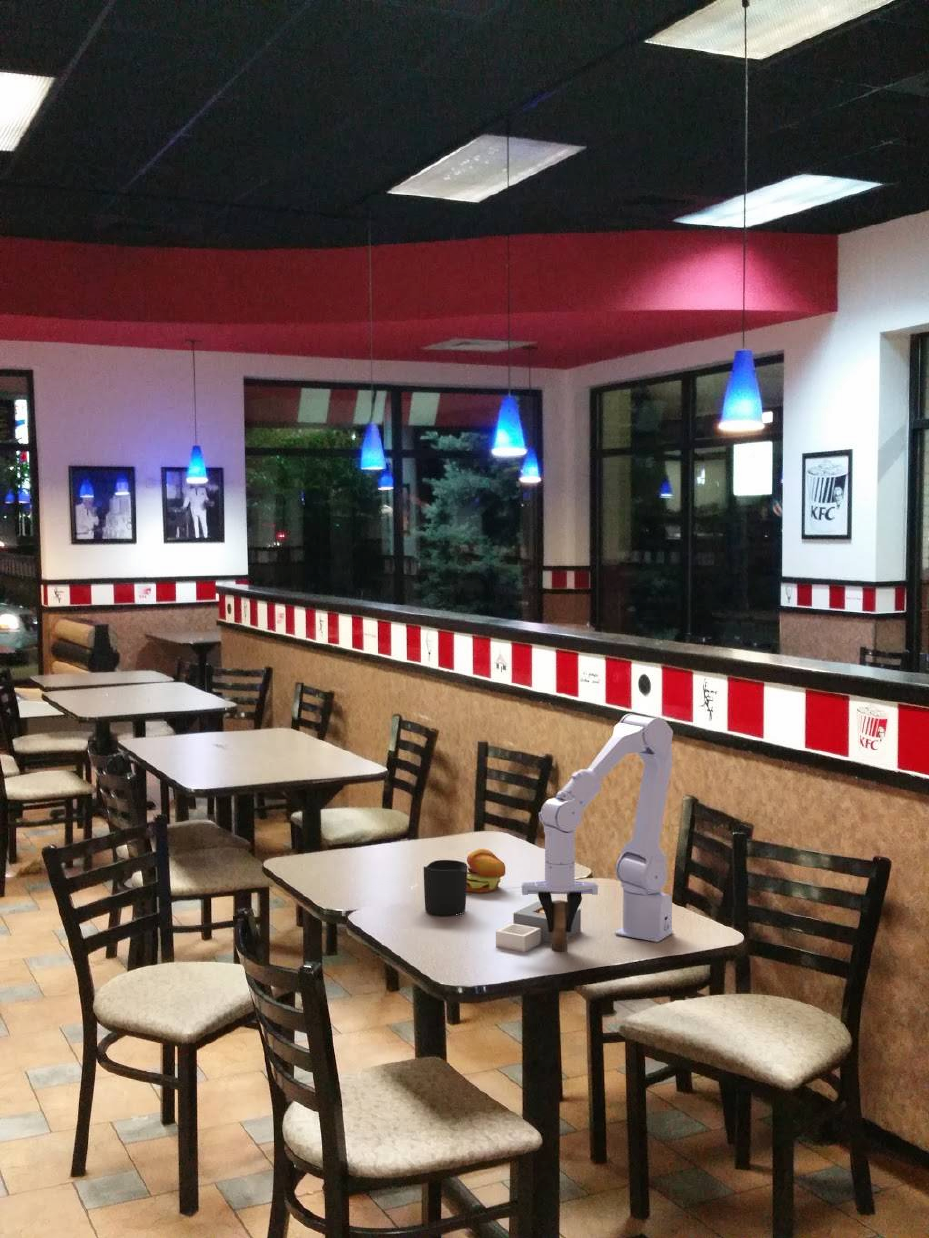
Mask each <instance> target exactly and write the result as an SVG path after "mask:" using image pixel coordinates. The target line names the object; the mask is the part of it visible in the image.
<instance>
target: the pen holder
mask: <svg viewBox="0 0 929 1238" xmlns="http://www.w3.org/2000/svg"><path fill="white" fill-rule="evenodd" d="M467 866H468V863H467V862H464V861H460V860H453V859H438V860H434V861H432V862H430V863H429V864H428V865H426V866H423V888H424V889H423V892H424V895H423V896H424V909H425V911H426V913H427V912H428V913H427V914H429V915H431V914H432V916H435V915H437V917H452V916H453V915H455V916H457V915H456V914H459V915H461V914H460V913H462V912H463V913H464V912H465V911H466V903H467V902H466V901H467V890H466V888H467ZM463 913H462V914H463ZM453 917H454V916H453Z"/></svg>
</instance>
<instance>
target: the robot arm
mask: <svg viewBox="0 0 929 1238" xmlns="http://www.w3.org/2000/svg"><path fill="white" fill-rule="evenodd" d="M612 733H613V734H612V736H611V737H610V738H609V740H608V741H607V742H606V743H605V745H604V746H603V747H602V748H601V751H600V752H599V753H598V754H597V756H596V757H595V758H594V759H593V761H592V763H591V764H590V765H589V766H588V768H587V769H579V770H577V771H573V773H572V774H571V775H570V777H571V778H570V780H569V781H568V782H566V784H565V785H564V786H563V788H562V789H561V790H559V791H558V792H557V793H556V796H555V797H552V798H548V800H546V801H545V802H544V803H543V804H542V806H541V810H540V812H538V818H539V822H541V824H542V825H543V834H544V880H542V881H540V880H539V881H531V882H522V883H521V894H522V896H528V895H537V896H538V900H539V902H541V905H542V907H543V910H544V912H545V915H546V919H547V925H548V932H552V901H553V899H552V895H566V902H567V932H571V928H572V923H573V920H574V917H575V914H576V911H577V909H579V907H580V905H581V904H582V902H583V901H582V900H583V896H582V895H593V896H597V895H598V891H599V890H598V889H599V885H598V883H597V882H593V881H592V882H591V881H590V882H589V881H578V880H577V881H576V880H575V877H576V875H575V867H576V865H575V863H576V862H575V860H576V859H575V857H576V855H575V853H576V852H575V851H576V849H575V848H576V846H575V845H576V842H575V841H576V837H575V836H576V835H575V834H576V832H575V831H576V829H577V828H578V827H579V826H580V825H581V822H582V820H583V819H582V818H583V815H584V812H585V809H586V808H587V807H588V806H589V804H590V803H591V802H592V800H594V799H595V797H596V796H597V795H598V794H599V793H600V792H601V790H602V780H603V779H604V778H605V777H607V775H608V774H609V773H610V772H611V771H612V770H613V769H614V768H615V767H616V765H618V764H619V763H620V762H621V761H622V760H623V759H624V758H625V757H626V756H627V755H628V754H633V753H634V754H635V753H636V754H637V755H638V756H639V758H640V759H641V760H642V762H643V770H642V775H641V780H640V781H641V782H640V788H639V794H638V801H637V807H636V812H635V818H634V819H635V820H634V824H633V830H632V835H631V836H632V837H631V839H630V840H629V841H628V842H627V843H625V844H624V845H623V846H622V850H621V854H620V856H619V858H618V860H617V861H616V865H615V875H616V877H617V879H618V881H620V882H621V883H620V886H621V888H622V927H621V928H619V929H618V930H616V931H615V932H614V935H616V936H622V937H627V938H633V939H638V940H639V939H640V940H645V941H650V942H656V943H658V942H660V941H662V940H664V939H665V938H667V937H668V936H670V935H671V934H673V933H674V930H673V929H672V928H673V900H672V897H671V895H670V894H667V893H664V892H663V891H662V889H663V888H664V887H665V885H666V883H667V881H668V870H667V860H668V859H667V858H668V857H667V855H666V853H665V852H664V850H663V849H662V847H661V845H660V841H661V833H662V828H663V820H664V814H665V810H666V803H667V797H668V792H669V791H668V790H669V783H670V779H671V778H670V777H671V772H672V767H673V760H674V759H673V758H674V757H673V756H674V755H673V749H672V741H673V735H674V731H673V729H672V728H671V727H670V725H669V724H668V723H667V721H666V720H665V719H663V718H660V717H651V716H650V717H649V716H644V715H637V714H636V713H627V714H625V715H624V716H622V718H621V719H620V721H619V722H618V723H617V724H616V725H615V726H614V727H613V731H612Z"/></svg>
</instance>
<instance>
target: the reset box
mask: <svg viewBox="0 0 929 1238" xmlns="http://www.w3.org/2000/svg"><path fill="white" fill-rule="evenodd" d="M541 910H543V907H542V905H541V902H540V901H536V902H534V903H532V904H530V905H528V906H526V907H523V908H522V909H518V910H517V911H514V912H513V914H512V915H513V916H512V917H513V922H512V923H514V924H519V925H525V926H530V927H536V928H541V941H543V942H547V943H548V942H549V943H552V932H548V925H547V919H546V915H545V914H541V913H538V912H540V911H541ZM581 915H582V908H578V909H577V911H576V914H575V917H574V920H573V923H572V928H571V932H567V939H569V938H570V937H573V936H574V935H576V934H577V933H579V932H581V929H582V927H581V926H582V924H581V923H582V922H581V919H582V916H581Z"/></svg>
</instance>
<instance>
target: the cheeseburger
mask: <svg viewBox="0 0 929 1238" xmlns="http://www.w3.org/2000/svg"><path fill="white" fill-rule="evenodd" d="M466 857H467V858H466V864H467V888H466V892H470V893H477V894H478V893H481V894H482V893H489V892H493V891H496V889H498V888H499V883H500V882H501V881H502V879H501V878H502V877H504V876H506V865H505V862H503V860H501V859H500V858H498V857H497V855H496V854H494V853H493V852H492V851H490V850H488V849H485V848H478V849H476V850H474V851H472V852H470V854H469V855H467V856H466Z"/></svg>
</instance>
